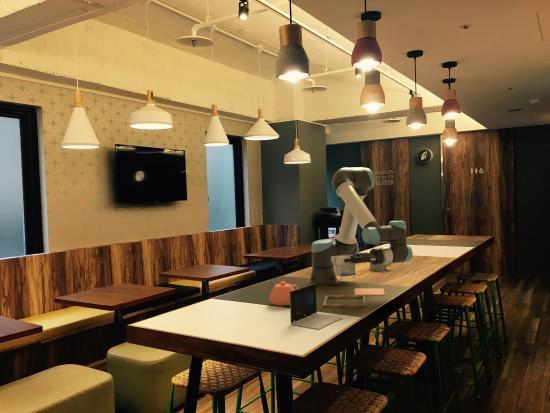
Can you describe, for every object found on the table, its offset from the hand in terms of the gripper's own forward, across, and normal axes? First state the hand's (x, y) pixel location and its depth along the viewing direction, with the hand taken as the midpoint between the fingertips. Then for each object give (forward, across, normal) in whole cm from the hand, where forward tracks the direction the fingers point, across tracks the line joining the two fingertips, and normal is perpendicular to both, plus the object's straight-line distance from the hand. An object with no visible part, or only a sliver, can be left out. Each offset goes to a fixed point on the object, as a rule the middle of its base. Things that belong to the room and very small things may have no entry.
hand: (334, 260), depth 202 cm
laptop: (+19, -23, -20) cm, 36 cm away
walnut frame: (-4, -1, -19) cm, 19 cm away
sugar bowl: (+21, +8, -19) cm, 29 cm away
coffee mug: (-63, +66, -19) cm, 93 cm away
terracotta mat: (-24, +12, -19) cm, 33 cm away
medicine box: (-5, 0, -7) cm, 9 cm away
